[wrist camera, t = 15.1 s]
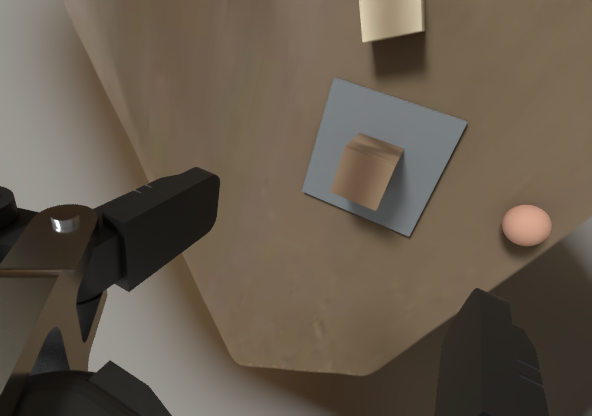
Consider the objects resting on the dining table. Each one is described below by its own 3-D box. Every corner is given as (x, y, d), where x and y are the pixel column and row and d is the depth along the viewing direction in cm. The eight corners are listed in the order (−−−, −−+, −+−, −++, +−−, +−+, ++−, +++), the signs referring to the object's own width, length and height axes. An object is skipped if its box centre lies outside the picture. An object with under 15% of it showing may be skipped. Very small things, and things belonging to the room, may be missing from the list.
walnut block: (404, 148, 36) (395, 166, 32) (386, 189, 39) (376, 211, 34) (359, 132, 38) (344, 146, 33) (345, 172, 40) (329, 191, 35)
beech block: (424, -19, 31) (420, -26, 27) (425, 31, 32) (421, 30, 29) (368, -5, 33) (358, -9, 29) (371, 41, 34) (362, 42, 31)
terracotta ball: (555, 208, 34) (566, 226, 30) (531, 239, 36) (539, 260, 32) (513, 192, 35) (519, 208, 31) (492, 224, 37) (495, 242, 33)
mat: (467, 121, 34) (467, 122, 33) (409, 234, 41) (409, 236, 40) (335, 77, 37) (333, 77, 36) (303, 189, 44) (301, 191, 44)
